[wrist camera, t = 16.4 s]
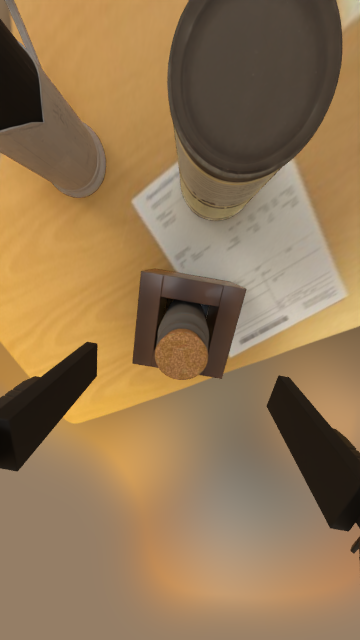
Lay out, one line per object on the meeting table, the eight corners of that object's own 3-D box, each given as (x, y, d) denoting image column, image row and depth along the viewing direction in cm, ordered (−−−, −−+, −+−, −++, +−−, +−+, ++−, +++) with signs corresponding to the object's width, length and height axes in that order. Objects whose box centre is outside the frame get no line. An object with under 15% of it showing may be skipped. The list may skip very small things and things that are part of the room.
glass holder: (49, 198, 26) (-121, 119, 12) (23, 61, 22) (-291, -321, 8) (109, 197, 26) (8, 114, 11) (95, 57, 21) (-95, -356, 7)
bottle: (165, 326, 31) (145, 380, 17) (169, 292, 29) (151, 321, 15) (199, 331, 31) (208, 390, 17) (205, 297, 29) (221, 331, 15)
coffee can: (171, 144, 24) (147, -15, 10) (252, 119, 22) (348, -98, 9) (187, 229, 26) (186, 195, 13) (260, 211, 25) (341, 152, 12)
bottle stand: (231, 281, 28) (246, 288, 21) (214, 351, 32) (221, 378, 24) (154, 268, 28) (141, 270, 21) (145, 339, 32) (132, 363, 24)
